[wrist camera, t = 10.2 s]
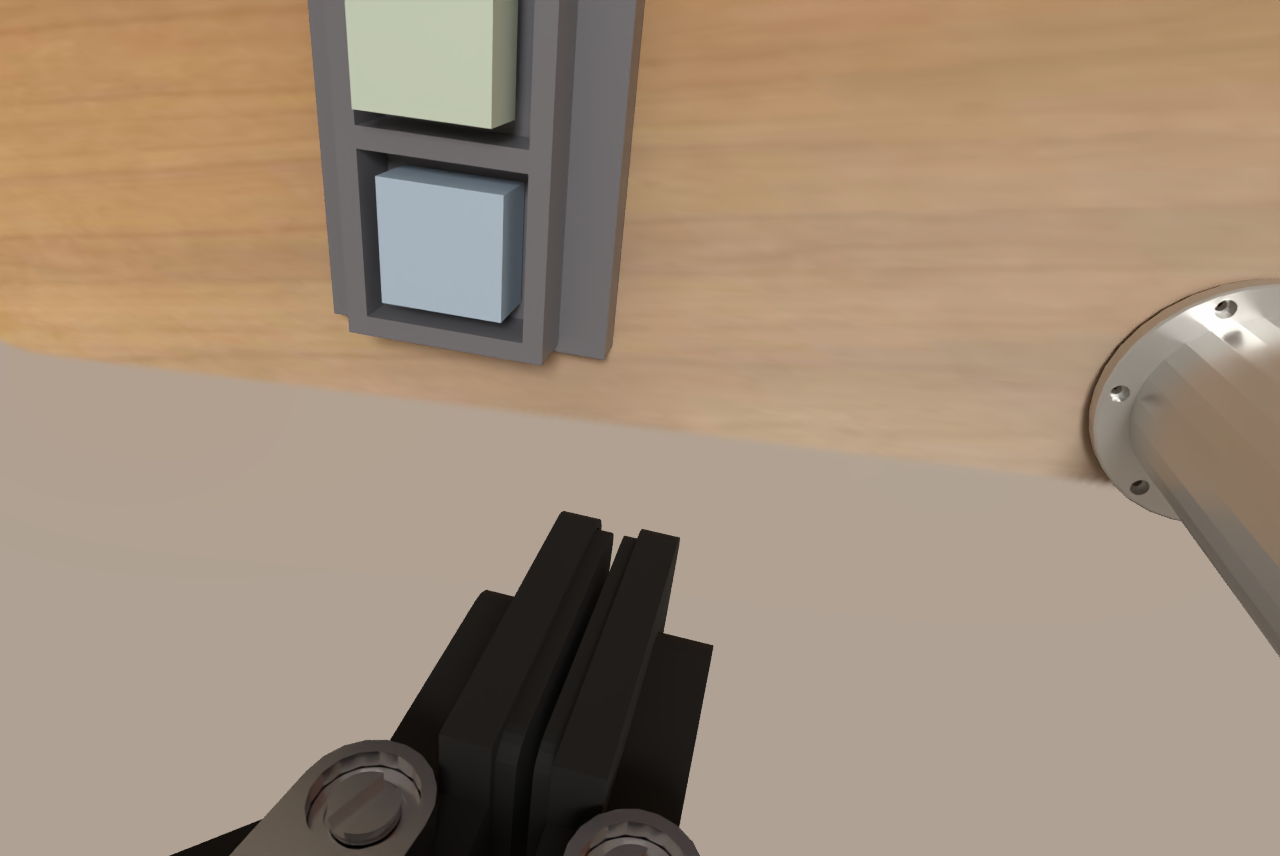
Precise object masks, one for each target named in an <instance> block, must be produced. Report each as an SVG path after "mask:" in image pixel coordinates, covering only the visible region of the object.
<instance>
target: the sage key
mask: <svg viewBox="0 0 1280 856" xmlns="http://www.w3.org/2000/svg"><path fill="white" fill-rule="evenodd" d="M345 14H346V29H347V44H348V59H349V74H350V90H351V105H352V109H355V110H362V111H369V112H376V113H383V114H390V115H397V116H404V117H411V118H418V119H425V120H432V121H439V122H446V123H453V124H460V125H467V126H474V127H481V128H488V129H492V128H495V127H498V126H500V125H503V124H505V123H508V122H510V121H513V120H515V103H516V66H517V28H518V0H345Z"/></svg>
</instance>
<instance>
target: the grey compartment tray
mask: <svg viewBox="0 0 1280 856" xmlns="http://www.w3.org/2000/svg"><path fill="white" fill-rule="evenodd" d="M644 4H645V0H518V28H517V66H516V103H515V120H513V121H510V122H508V123H505V124H503V125H500V126H498V127H495V128H492V129H488V128H481V127H474V126H467V125H460V124H453V123H446V122H439V121H432V120H425V119H418V118H411V117H404V116H397V115H390V114H383V113H376V112H369V111H362V110H355V109H352V105H351V90H350V74H349V59H348V44H347V29H346V14H345V0H308V9H309V21H310V33H311V44H312V56H313V68H314V79H315V91H316V103H317V114H318V126H319V138H320V150H321V161H322V173H323V185H324V196H325V208H326V220H327V231H328V243H329V255H330V266H331V278H332V290H333V302H334V313H336V314H342V315H347V316H348V319H349V332H352V333H358V334H364V335H370V336H375V337H381V338H387V339H392V340H398V341H404V342H409V343H415V344H421V345H427V346H432V347H438V348H444V349H449V350H455V351H461V352H466V353H472V354H478V355H483V356H489V357H495V358H501V359H506V360H512V361H518V362H523V363H529V364H535V365H540V366H542V364H543V363H544V362H545V360H546V359H547V358H548V356H549V355H550V354H551V352H552V351H555V352H561V353H567V354H573V355H578V356H584V357H590V358H596V359H601V360H604V359H605V358H606V356H607V354H608V352H609V351H610V349H611V347H612V344H613V333H614V323H615V312H616V302H617V291H618V280H619V270H620V259H621V249H622V238H623V227H624V217H625V206H626V195H627V185H628V174H629V164H630V153H631V142H632V132H633V121H634V111H635V100H636V89H637V79H638V68H639V58H640V47H641V36H642V26H643V15H644ZM404 164H405V165H412V166H418V167H425V168H432V169H439V170H445V171H452V172H459V173H465V174H472V175H479V176H485V177H492V178H499V179H505V180H512V181H519V182H525V186H524V216H523V246H522V276H521V303H520V304H519V305H518V306H517V307H516V308H515V309H514V310H513V311H512V312H511V313H510V314H509V315H508V316H507V317H506V318H505V319H504V320H503V321H502V322H501V323H498V322H492V321H486V320H480V319H474V318H469V317H463V316H457V315H451V314H445V313H439V312H433V311H427V310H422V309H416V308H410V307H404V306H398V305H392V304H386V303H382V293H381V275H380V257H379V238H378V220H377V202H376V184H375V176H376V175H379V174H381V173H384V172H387V171H389V170H392V169H394V168H397V167H399V166H402V165H404Z"/></svg>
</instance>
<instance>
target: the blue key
mask: <svg viewBox="0 0 1280 856" xmlns="http://www.w3.org/2000/svg"><path fill="white" fill-rule="evenodd" d="M375 184H376V202H377V220H378V238H379V257H380V275H381V293H382V303H386V304H392V305H398V306H404V307H410V308H416V309H422V310H427V311H433V312H439V313H445V314H451V315H457V316H463V317H469V318H474V319H480V320H486V321H492V322H498V323H501V322H502V321H503V320H504V319H505V318H506V317H507V316H508V315H509V314H510V313H511V312H512V311H513V310H514V309H515V308H516V307H517V306H518V305H519V304H520V303H521V276H522V246H523V216H524V186H525V182H519V181H512V180H505V179H499V178H492V177H485V176H479V175H472V174H465V173H459V172H452V171H445V170H439V169H432V168H425V167H418V166H412V165H405V164H404V165H402V166H399V167H397V168H394V169H392V170H389V171H387V172H384V173H381V174H379V175H376V176H375Z"/></svg>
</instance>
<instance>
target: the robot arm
mask: <svg viewBox="0 0 1280 856" xmlns="http://www.w3.org/2000/svg"><path fill="white" fill-rule="evenodd" d="M1221 302H1223V303H1222V305H1221V306H1219V307H1217V305H1218V304H1219V303H1221ZM1216 307H1217V308H1216ZM1117 386H1119V387H1118V388H1117V389H1115V390H1112V389H1113V388H1115V387H1117ZM1089 435H1090V439H1091V443H1092V448H1093V452H1094V454H1095V456H1096V457H1097V459H1098V461H1099V463H1100V465H1101V467H1102V469H1103V471H1104V472H1105V473H1106V475H1107V476H1108V478H1109V479H1110V480H1111V482H1112V483H1113V485H1114V486H1115V487H1116V488H1117V489H1118V490H1119V491H1120V492H1121V493H1123V495H1124V496H1126V497H1127V498H1128V499H1129V500H1131V501H1133V502H1135V503H1136V504H1138V505H1140V506H1141V507H1143V508H1145V509H1146V510H1148V511H1150V512H1153V513H1156V514H1159V515H1161V516H1164V517H1167V518H1170V519H1174V520H1179V521H1182V523H1183V524H1184V525H1185V527H1186V528H1187V529H1188V531H1189V532H1190V534H1191V535H1192V536H1193V538H1194V539H1195V540H1196V542H1197V543H1198V545H1199V546H1200V547H1201V549H1202V550H1203V552H1204V553H1205V554H1206V556H1207V557H1208V558H1209V560H1210V561H1211V563H1212V564H1213V565H1214V567H1215V568H1216V570H1217V571H1218V572H1219V574H1220V575H1221V577H1222V578H1223V579H1224V581H1225V582H1226V583H1227V585H1228V586H1229V588H1230V589H1231V590H1232V592H1233V593H1234V595H1235V596H1236V597H1237V599H1238V600H1239V601H1240V603H1241V604H1242V606H1243V607H1244V608H1245V610H1246V611H1247V613H1248V614H1249V615H1250V617H1251V618H1252V619H1253V621H1254V622H1255V624H1256V625H1257V626H1258V628H1259V629H1260V631H1261V632H1262V633H1263V635H1264V636H1265V637H1266V639H1267V640H1268V642H1269V643H1270V644H1271V646H1272V647H1273V649H1274V650H1275V651H1276V653H1277V654H1278V655H1279V657H1280V279H1253V280H1247V281H1242V282H1236V283H1230V284H1225V285H1221V286H1218V287H1215V288H1212V289H1209V290H1206V291H1203V292H1200V293H1197V294H1194V295H1192V296H1190V297H1188V298H1186V299H1184V300H1182V301H1180V302H1178V303H1176V304H1174V305H1172V306H1170V307H1168V308H1166V309H1164V310H1163V311H1161V312H1160V313H1159V314H1157V315H1156V316H1154V317H1153V318H1152V319H1150V320H1149V321H1147V322H1146V323H1145V324H1143V325H1142V326H1140V327H1139V328H1138V329H1137V330H1136V331H1135V332H1134V333H1133V334H1132V335H1131V336H1130V337H1129V338H1128V339H1127V340H1126V341H1125V342H1124V343H1123V344H1122V345H1121V346H1120V347H1119V349H1118V350H1117V351H1116V353H1115V354H1114V355H1113V357H1112V358H1111V359H1110V361H1109V362H1108V364H1107V365H1106V366H1105V368H1104V370H1103V372H1102V374H1101V376H1100V378H1099V380H1098V383H1097V385H1096V387H1095V389H1094V393H1093V397H1092V401H1091V405H1090V409H1089ZM601 526H602V525H601V520H600V519H596V518H591V517H587V516H583V515H579V514H574V513H570V512H566V511H563V512H561V513H560V515H559V516H558V518H557V520H556V522H555V524H554V526H553V527H552V529H551V531H550V533H549V535H548V536H547V538H546V540H545V542H544V544H543V545H542V547H541V549H540V551H539V553H538V555H537V556H536V558H535V560H534V562H533V564H532V566H531V567H530V569H529V571H528V573H527V575H526V576H525V578H524V580H523V582H522V584H521V586H520V587H519V590H518V591H517V593H516V595H515V596H514V597H513V596H509V595H505V594H501V593H497V592H492V591H488V590H485V591H484V592H482V593H481V594H480V595H479V597H478V598H477V599H476V601H475V602H474V604H473V606H472V607H471V609H470V611H469V612H468V614H467V615H466V617H465V619H464V620H463V622H462V624H461V625H460V627H459V629H458V630H457V632H456V633H455V635H454V637H453V638H452V640H451V641H450V643H449V645H448V646H447V648H446V650H445V651H444V653H443V655H442V656H441V658H440V659H439V661H438V663H437V665H436V666H435V668H434V669H433V671H432V673H431V674H430V676H429V678H428V679H427V681H426V682H425V684H424V686H423V687H422V689H421V691H420V692H419V694H418V695H417V697H416V699H415V700H414V702H413V704H412V705H411V707H410V709H409V710H408V712H407V713H406V715H405V717H404V718H403V720H402V722H401V723H400V725H399V726H398V728H397V730H396V731H395V733H394V735H393V736H392V738H391V740H390V741H389V740H364V741H361V742H356V743H352V744H349V745H344V746H342V747H341V748H338V749H336V750H335V751H333V752H331V753H329V754H327V755H325V756H323V757H322V758H321V759H320V760H319V761H317V762H316V763H315V764H314V765H313V766H312V767H310V768H309V769H308V770H307V771H306V772H305V773H304V774H303V775H302V776H301V777H300V778H299V780H298V781H297V782H296V783H295V784H294V785H293V786H292V787H291V788H290V789H289V791H288V792H287V793H286V794H285V795H284V796H283V797H282V798H281V799H280V801H279V802H278V803H277V804H276V805H275V806H274V807H273V808H272V809H271V810H270V811H269V813H268V814H267V815H266V816H265V817H264V818H263V819H261V820H259V821H256V822H254V823H251V824H249V825H247V826H244V827H241V828H239V829H236V830H234V831H232V832H229V833H226V834H223V835H221V836H219V837H216V838H214V839H211V840H209V841H206V842H203V843H201V844H198V845H196V846H193V847H191V848H188V849H185V850H183V851H180V852H178V853H175V854H173V855H170V856H700V855H699V853H698V851H697V849H696V847H695V845H694V843H693V842H692V841H691V840H690V839H689V838H688V836H687V835H686V834H685V833H684V832H683V831H682V830H681V829H680V828H679V825H680V820H681V814H682V809H683V804H684V799H685V793H686V788H687V783H688V777H689V772H690V767H691V761H692V756H693V751H694V746H695V741H696V735H697V730H698V725H699V720H700V714H701V709H702V704H703V699H704V693H705V688H706V683H707V677H708V672H709V667H710V662H711V656H712V651H713V645H709V644H705V643H701V642H697V641H693V640H689V639H685V638H680V637H677V636H673V635H669V634H664V633H663V632H664V626H665V621H666V615H667V610H668V604H669V599H670V593H671V587H672V582H673V576H674V571H675V565H676V560H677V554H678V549H679V542H680V538H679V537H675V536H670V535H666V534H662V533H658V532H653V531H649V530H644V529H642V530H641V531H640V533H639V536H638V538H632V537H628V536H624V537H623V539H622V542H621V544H620V547H619V549H618V552H617V554H616V557H615V559H614V562H613V564H612V566H611V569H610V561H611V553H612V546H613V533H611V532H606V531H602V530H601ZM609 569H610V571H609Z"/></svg>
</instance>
